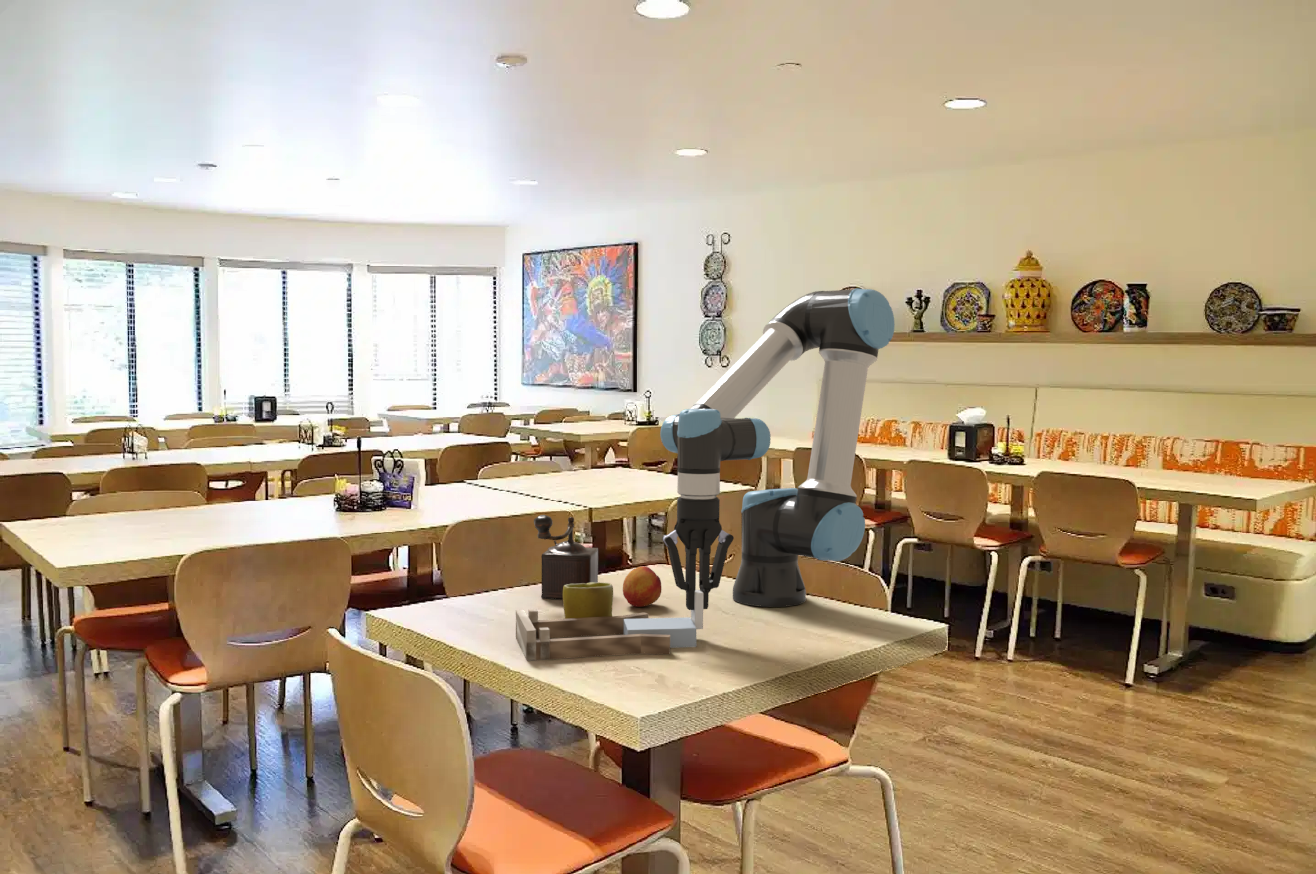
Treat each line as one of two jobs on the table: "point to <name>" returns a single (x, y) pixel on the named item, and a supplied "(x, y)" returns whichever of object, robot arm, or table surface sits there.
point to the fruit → (641, 587)
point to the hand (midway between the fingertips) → (696, 627)
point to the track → (583, 646)
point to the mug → (587, 600)
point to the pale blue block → (665, 629)
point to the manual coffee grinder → (564, 560)
